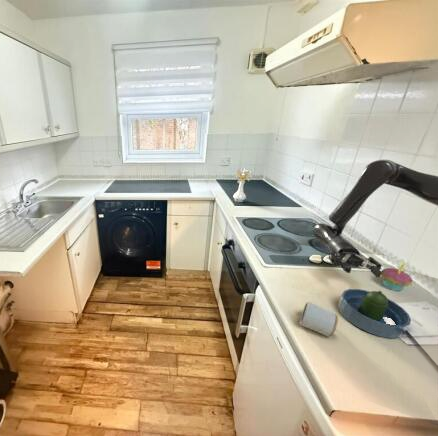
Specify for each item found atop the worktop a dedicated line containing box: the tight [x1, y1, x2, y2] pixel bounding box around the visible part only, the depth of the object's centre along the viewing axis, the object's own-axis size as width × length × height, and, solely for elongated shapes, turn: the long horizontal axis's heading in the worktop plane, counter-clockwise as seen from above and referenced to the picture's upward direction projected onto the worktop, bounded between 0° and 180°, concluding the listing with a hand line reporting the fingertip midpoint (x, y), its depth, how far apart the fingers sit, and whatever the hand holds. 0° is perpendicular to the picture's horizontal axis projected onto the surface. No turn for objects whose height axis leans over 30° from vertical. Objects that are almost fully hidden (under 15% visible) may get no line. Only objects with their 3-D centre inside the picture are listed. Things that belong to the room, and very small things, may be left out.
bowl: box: [337, 288, 412, 339], centre depth 76 cm, size 16×16×5 cm
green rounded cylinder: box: [358, 290, 389, 322], centre depth 75 cm, size 6×6×10 cm
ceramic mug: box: [299, 301, 339, 337], centre depth 73 cm, size 11×8×8 cm
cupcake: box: [380, 262, 413, 292], centre depth 89 cm, size 9×8×12 cm
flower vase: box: [232, 167, 253, 203], centre depth 180 cm, size 13×18×25 cm
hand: (364, 272), depth 82 cm, fingers open, 8 cm apart
